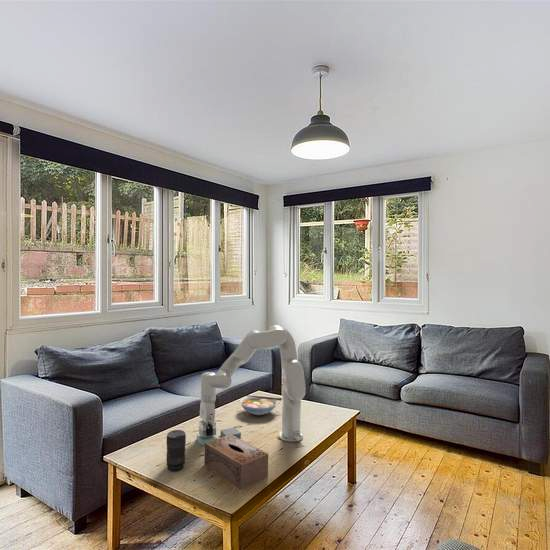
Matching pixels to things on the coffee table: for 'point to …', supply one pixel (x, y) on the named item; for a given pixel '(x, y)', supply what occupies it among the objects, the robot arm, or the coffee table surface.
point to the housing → (205, 428)
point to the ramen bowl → (258, 404)
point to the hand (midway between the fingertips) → (207, 432)
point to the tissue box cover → (236, 460)
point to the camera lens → (176, 450)
